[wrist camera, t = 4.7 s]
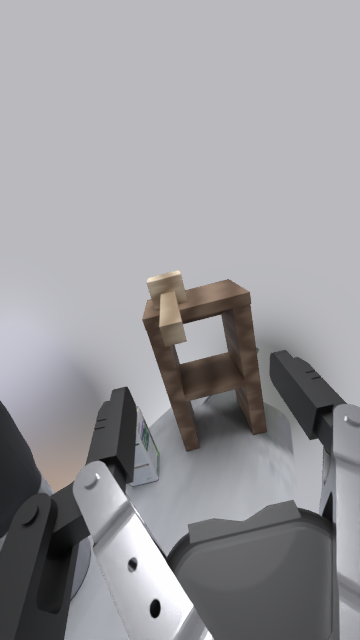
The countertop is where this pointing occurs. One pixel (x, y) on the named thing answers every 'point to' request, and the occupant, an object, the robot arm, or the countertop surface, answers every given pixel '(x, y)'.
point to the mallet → (169, 305)
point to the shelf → (213, 371)
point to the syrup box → (145, 454)
